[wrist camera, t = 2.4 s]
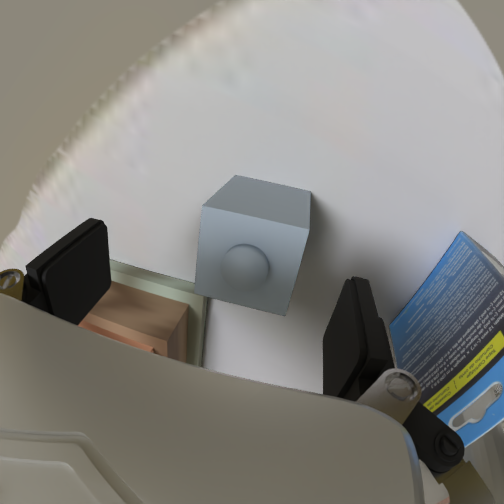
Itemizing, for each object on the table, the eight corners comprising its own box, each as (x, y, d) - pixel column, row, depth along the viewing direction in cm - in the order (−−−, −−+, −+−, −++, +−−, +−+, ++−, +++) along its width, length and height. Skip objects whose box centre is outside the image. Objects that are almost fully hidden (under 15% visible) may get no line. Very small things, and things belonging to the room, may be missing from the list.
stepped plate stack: (208, 287, 22) (163, 370, 15) (198, 398, 28) (172, 464, 21) (59, 243, 23) (-6, 292, 16) (83, 354, 30) (44, 404, 22)
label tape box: (421, 341, 21) (455, 482, 10) (383, 323, 21) (408, 480, 10) (492, 253, 17) (585, 378, 6) (457, 225, 17) (563, 358, 6)
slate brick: (310, 191, 18) (309, 235, 12) (293, 258, 20) (283, 324, 14) (235, 174, 18) (197, 210, 12) (225, 242, 20) (190, 300, 14)
